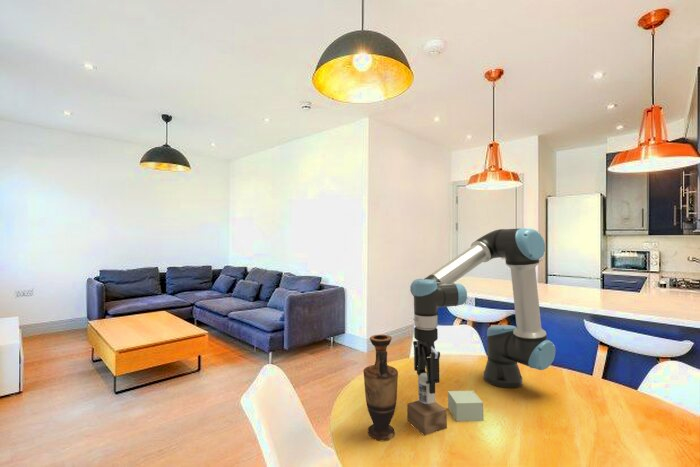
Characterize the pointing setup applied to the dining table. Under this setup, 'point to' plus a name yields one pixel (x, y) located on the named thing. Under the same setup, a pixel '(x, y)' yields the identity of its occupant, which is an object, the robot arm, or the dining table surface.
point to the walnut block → (427, 416)
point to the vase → (381, 390)
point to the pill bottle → (423, 388)
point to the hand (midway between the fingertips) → (426, 398)
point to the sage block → (465, 406)
